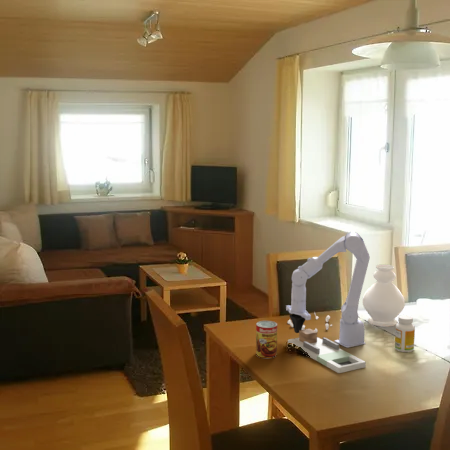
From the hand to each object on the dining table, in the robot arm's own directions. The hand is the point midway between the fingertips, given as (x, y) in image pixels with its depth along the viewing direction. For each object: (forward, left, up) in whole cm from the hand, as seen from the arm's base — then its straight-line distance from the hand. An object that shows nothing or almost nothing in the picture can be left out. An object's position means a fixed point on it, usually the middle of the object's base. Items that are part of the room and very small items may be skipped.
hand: (297, 332), depth 253 cm
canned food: (+19, +7, -4) cm, 20 cm away
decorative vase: (-46, -2, -4) cm, 46 cm away
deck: (0, +18, -3) cm, 18 cm away
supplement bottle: (-31, +27, -4) cm, 41 cm away
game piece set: (-16, -14, -4) cm, 22 cm away
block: (0, +7, -1) cm, 7 cm away
